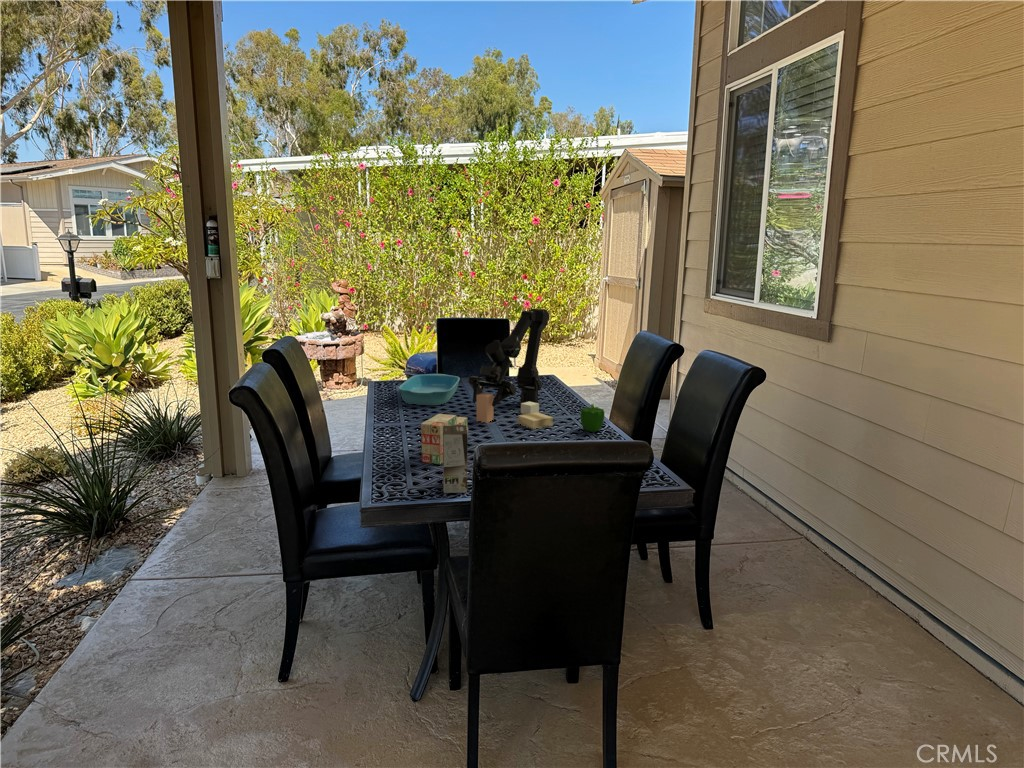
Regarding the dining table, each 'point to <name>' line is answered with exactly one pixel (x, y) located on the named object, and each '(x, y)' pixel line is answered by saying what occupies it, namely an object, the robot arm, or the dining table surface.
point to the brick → (529, 407)
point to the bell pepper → (592, 418)
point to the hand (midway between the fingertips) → (483, 404)
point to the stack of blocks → (437, 436)
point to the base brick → (535, 420)
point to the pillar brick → (485, 407)
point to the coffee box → (455, 458)
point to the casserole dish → (429, 389)
